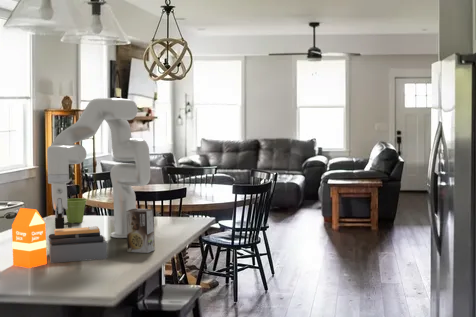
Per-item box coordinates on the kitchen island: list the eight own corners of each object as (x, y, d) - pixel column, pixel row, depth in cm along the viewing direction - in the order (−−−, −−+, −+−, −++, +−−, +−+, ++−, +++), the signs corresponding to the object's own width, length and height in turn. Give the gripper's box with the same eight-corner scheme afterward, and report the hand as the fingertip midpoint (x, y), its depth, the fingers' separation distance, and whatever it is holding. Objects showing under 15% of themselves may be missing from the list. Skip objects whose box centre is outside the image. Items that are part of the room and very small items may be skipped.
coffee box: (155, 250, 256) (154, 208, 255) (147, 253, 250) (146, 211, 249) (134, 248, 259) (133, 208, 258) (126, 252, 253) (125, 210, 252)
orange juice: (29, 268, 228) (27, 210, 226) (12, 265, 232) (10, 209, 231) (47, 263, 234) (45, 208, 233) (30, 261, 239) (28, 206, 238)
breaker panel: (102, 250, 257) (102, 228, 256) (107, 258, 242) (107, 235, 241) (49, 254, 251) (48, 231, 250) (50, 262, 235) (49, 239, 235)
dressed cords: (99, 235, 255) (99, 230, 255) (103, 242, 242) (103, 236, 242) (48, 239, 249) (48, 233, 249) (49, 245, 236) (49, 240, 236)
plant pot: (84, 224, 320) (83, 201, 320) (60, 224, 321) (59, 201, 320) (90, 220, 332) (89, 198, 332) (66, 220, 332) (66, 198, 332)
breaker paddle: (97, 229, 251) (97, 226, 251) (99, 232, 245) (99, 228, 245) (54, 232, 246) (54, 228, 246) (55, 235, 240) (54, 231, 240)
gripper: (70, 180, 236) (71, 231, 237) (67, 177, 251) (69, 224, 252) (48, 181, 234) (50, 232, 235) (47, 177, 248) (48, 226, 249)
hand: (59, 228), depth 243 cm, fingers closed
